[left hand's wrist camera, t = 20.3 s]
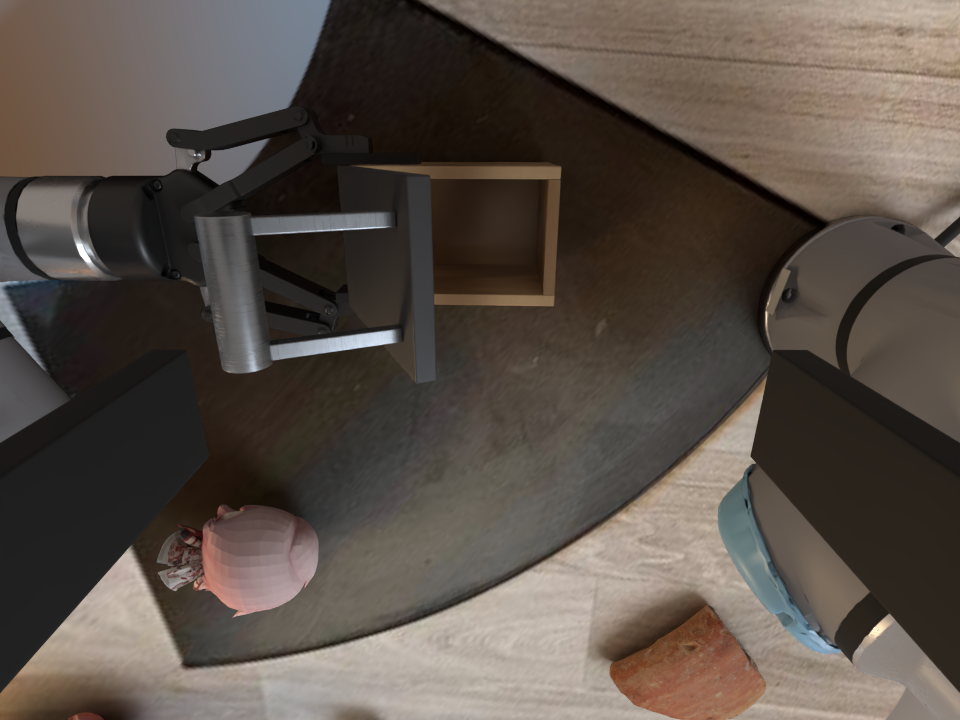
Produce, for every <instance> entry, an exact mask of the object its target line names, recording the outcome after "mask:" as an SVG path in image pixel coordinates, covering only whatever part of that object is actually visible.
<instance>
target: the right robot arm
mask: <svg viewBox="0 0 960 720" xmlns="http://www.w3.org/2000/svg"><path fill="white" fill-rule="evenodd" d="M294 131H298V132H299V134H300V137H301V139H300V140H299V141H297V142H295V143H294V144H292V145H290V146H289V147H287V148H285V149H283V150H282V151H280V152H278V153H277V154H275V155H273V156H272V157H270V158H268V159H266V160H265V161H263V162H261V163H260V164H258V165H256V166H254V167H253V168H251V169H249V170H248V171H246V172H244V173H243V174H241V175H239V176H237V177H236V178H234V179H232V180H230V181H227V182H225V183H223V184H221V185H218V184H217V183H215V182H214V181H212V180H211V179H209V178H208V177H206V176H205V175H203V174H202V173H200V172H199V171H197V167H198V165H199V163H201V162H204V161H208V160H209V159H210V157H211V150H225V149H230V148H233V147H237V146H241V145H245V144H249V143H252V142H256V141H260V140H264V139H267V138H271V137H275V136H279V135H283V134H286V133H290V132H294ZM166 138H167V141H168V143H169V144H170V145H171V146H172V147H175V152H176V165H177V169H176V170H174V171H172V172H171V173H169V174H167V175H165V176H110V177H107V178H105V177H103V176H43V177H0V282H5V281H21V280H92V281H116V280H121V279H125V280H181V281H186V282H189V283H191V284H193V285H195V286H198V287H200V290H201V293H202V296H203V300H204V303H205V306H206V307H204V308H203V309H202V310H201V316H202V318H203V319H204V320H205V321H207V322H213V316H212V311H211V306H210V300H209V295H208V290H207V284H206V279H205V274H204V268H203V263H202V258H201V252H200V247H199V242H198V236H197V231H196V226H195V220H194V215H196V214H200V213H208V212H222V211H242V212H246V207H245V206H242V204H241V202H243V201H245V200H246V199H248V198H250V197H252V196H253V195H255V194H256V193H257V192H259V191H260V190H262V189H264V188H265V187H267V186H269V185H271V184H272V183H274V182H276V181H278V180H279V179H281V178H283V177H284V176H286V175H288V174H290V173H291V172H293V171H295V170H297V169H298V168H300V167H302V166H304V165H305V164H307V163H309V162H310V161H312V160H314V159H316V158H317V157H319V156H321V155H322V164H323V165H418V164H421V153H373V148H372V139H371V138H369V137H367V136H363V135H327V134H325V133H324V132H323V131H322V129H321V128H320V125H319V123H318V121H317V115H316V113H315V112H314V111H313V110H312V109H309V108H305V107H301V106H294V107H290V108H286V109H283V110H279V111H275V112H272V113H268V114H264V115H260V116H257V117H253V118H249V119H246V120H242V121H238V122H234V123H230V124H227V125H223V126H219V127H216V128H212V129H208V130H204V131H197V130H186V129H170V130H168V132H167V134H166ZM257 255H258V262H259V269H260V275H261V282H262V287H264V288H266V289H269V290H271V291H273V292H275V293H277V294H279V295H282V296H284V297H286V298H288V299H290V300H292V301H295V302H297V303H299V304H301V305H303V306H305V307H308V308H310V309H312V310H314V311H316V312H313V311H308V310H304V309H299V308H295V307H290V306H286V305H281V304H277V303H272V302H267V301H264V302H265V309H266V315H267V322H268V327H269V328H273V329H278V330H282V331H287V332H292V333H296V334H301V335H305V336H310V335H318V334H326V333H332V332H333V331H334V330H335V329H336V327H337V326H338V319H339V316H341V315H357V314H356V313H355V312H354V311H353V309H352V308H351V307H350V306H349V295H348V285H343V286H342V287H341V288H340V289H339V290H338V291H337V292H336V293H335V292H333V291H331V290H329V289H327V288H325V287H322V286H320V285H318V284H316V283H314V282H312V281H310V280H308V279H305V278H303V277H301V276H299V275H297V274H295V273H293V272H291V271H289V270H286V269H284V268H282V267H280V266H278V265H276V264H274V263H272V262H270V261H267V260H266V259H265V258H264V257H263V256H262V255H260V254H258V253H257ZM317 312H318V313H317ZM69 400H71V399H70V398H69V397H68V396H67V395H66V394H65V392H64V391H63V390H62V389H61V388H60V387H59V386H58V385H57V384H56V383H55V382H54V381H53V380H52V378H51V377H50V376H49V375H48V374H47V373H46V372H45V371H44V370H43V369H42V368H41V367H40V366H39V364H38V363H37V362H36V361H35V360H34V359H33V358H32V357H31V356H30V355H29V354H28V353H27V352H26V350H25V349H24V348H23V347H22V346H21V345H20V344H19V343H18V342H17V341H16V340H15V339H14V337H13V335H12V334H11V333H10V332H9V331H8V329H7V328H6V326H5V325H4V324H3V323H2V322H1V321H0V442H2V441H4V440H5V439H7V438H9V437H10V436H12V435H14V434H15V433H17V432H19V431H20V430H22V429H23V428H25V427H27V426H28V425H30V424H32V423H33V422H35V421H37V420H38V419H40V418H42V417H43V416H45V415H46V414H48V413H50V412H51V411H53V410H55V409H56V408H58V407H60V406H61V405H63V404H65V403H66V402H68V401H69Z"/></svg>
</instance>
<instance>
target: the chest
mask: <svg viewBox="0 0 960 720" xmlns="http://www.w3.org/2000/svg"><path fill="white" fill-rule="evenodd" d="M351 166H358V167H366V168H374V169H383V170H391V171H400V172H408V173H417V174H425V175H430V177H431V210H432V243H433V275H434V304H444V305H510V306H554V294H555V276H556V257H557V239H558V220H559V201H560V182H561V180H560V178H561V167H560V166H558V165H554V164H551V163H550V162H421V164H418V165H351Z"/></svg>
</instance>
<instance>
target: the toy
mask: <svg viewBox="0 0 960 720" xmlns="http://www.w3.org/2000/svg"><path fill="white" fill-rule="evenodd" d="M217 514H218V517H217V518H214V519H210V520H208V521H207V522H206V523H205V525H204V527H203V533H202V532H201V531H199V530H197V529H194V528H191V527H187V526H183V525H179V524H177V525H179V527H181V529H184V530H183V531H178V532H175V533H174V534H172V535H171V536H170V537H168V539H167V540H166V541H165V543H164V544H163V546H162V548H161V551H160V553H159V556H158V560H157V562H158V563H164V564H168V566H173V567H170V568H168V569H165V570H163V571H161V572H158V579H162V580H163V582H164V583H165V584H166V586H168V587H169V588H170V589H172V590H174V591H176V590H177V588H179V587H181V586H183V585H185V584H187V583H189V582H191V581H193V580H194V579H196V578H197V580H196V581H195V582H194V584H193V589H194V590H196V591H200V590H202V589H206V590H205V591H212V592H213V593H214V594H215V595H217V597H218V598H219V599H220V600H221V601H222V602H223V603H225V604H226V605H227V606H228V607H230V608H234V609H236V610H239V611H238V612H237V613H236V614H235V615H234V616H233V617H236V616H239V615H245V614H249V613H252V612H255V611H262V610H268V609H272V608H275V607H278V606H280V605H282V604H284V603H286V602H288V601H289V600H291V599H292V598H293V597H295V596H296V595H297V594H298V592H299V591H300V590H301V588H302V587H303V585H304V588H305V587H306V585H307V584H308V582H309V581H310V580H311V578H312V577H313V575H314V573H315V570H316V567H317V563H318V539H317V535H316V533H315V531H314V529H313V528H312V526H311V525H310V524H309V523H308V522H307V521H306V520H305V519H303V518H301V517H295V516H294V515H293V514H291V513H289V512H286V511H284V510H281V509H277V508H273V507H267V506H260V505H245V506H243V507H242V508H240V511H236V510H233V509H231V508H230V507H228V506H227V505H224V504H223V505H221V506H220V507H219V509H218V513H217ZM185 542H186V543H188V544H190V545H193V546H196V547H192V546H190V545H187V544H185ZM197 547H199V548H197ZM304 583H305V584H304Z"/></svg>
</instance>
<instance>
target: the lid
mask: <svg viewBox="0 0 960 720" xmlns="http://www.w3.org/2000/svg"><path fill="white" fill-rule="evenodd" d="M337 173H338V184H339V195H340V206H341V212H330V213H307V214H284V215H261V216H252V215H251V213H249V212H242V211H222V212H208V213H200V214H196V215H194V220H195V226H196V231H197V236H198V242H199V247H200V252H201V258H202V263H203V268H204V274H205V279H206V284H207V290H208V295H209V300H210V306H211V311H212V316H213V322H214V327H215V332H216V338H217V343H218V348H219V354H220V359H221V364H222V368H223V370H224V371H226V372H230V373H249V372H255V371H259V370H262V369H264V368H267V367H268V366H270V365H271V364H272V363H273V360H278V359H285V358H292V357H299V356H306V355H313V354H320V353H327V352H334V351H341V350H348V349H355V348H362V347H369V346H376V345H383V346H384V347H385V348H386V349H387V350H388V351H389V353H390V354H391V355H392V356H393V357H394V358H395V360H396V361H397V362H398V363H399V364H400V365H401V367H402V368H403V369H404V370H405V371H406V372H407V374H408V375H409V376H410V377H411V378H412V379H413V381H414V382H415V383H417V384H418V383H424V382H430V381H435V380H436V379H437V374H436V341H435V308H434V275H433V243H432V210H431V177H430V175H425V174H417V173H408V172H400V171H391V170H383V169H374V168H366V167H358V166H337ZM326 231H343V240H344V251H345V262H346V273H347V284H348V295H349V306H350V307H351V308H352V309H353V311H354V312H355V313H356V314H357V315H358V316H359V318H360V319H361V320H362V321H363V322H364V323H365V325H366V326H367V327H368V328H365V329H357V330H349V331H341V332H334V333H326V334H318V335H310V336H303V337H295V338H287V339H279V340H272V341H270V336H269V329H268V322H267V315H266V309H265V302H264V295H263V289H262V282H261V275H260V269H259V262H258V255H257V249H256V242H255V235H273V234H291V233H308V232H326Z"/></svg>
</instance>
